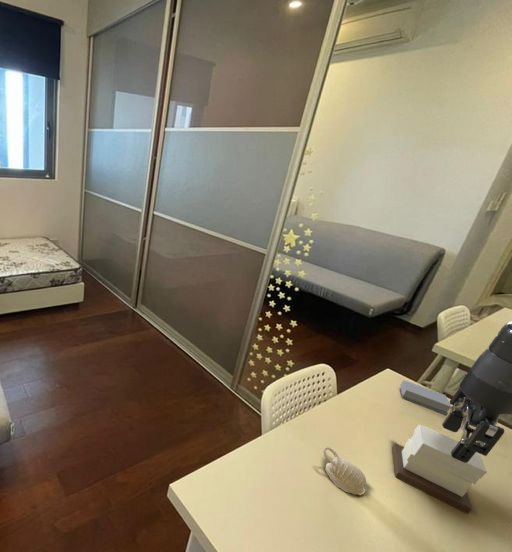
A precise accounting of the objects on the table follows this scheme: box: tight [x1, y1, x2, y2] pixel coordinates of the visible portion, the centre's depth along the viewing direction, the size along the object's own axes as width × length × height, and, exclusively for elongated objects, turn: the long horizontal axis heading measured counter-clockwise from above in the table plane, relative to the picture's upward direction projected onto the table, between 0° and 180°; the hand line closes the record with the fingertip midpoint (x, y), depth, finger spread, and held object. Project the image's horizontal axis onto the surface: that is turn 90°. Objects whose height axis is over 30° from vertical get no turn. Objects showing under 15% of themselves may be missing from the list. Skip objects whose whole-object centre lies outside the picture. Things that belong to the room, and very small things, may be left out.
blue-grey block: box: [399, 379, 452, 417], centre depth 86 cm, size 9×6×4 cm, turn 54°
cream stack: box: [391, 433, 481, 514], centre depth 65 cm, size 11×9×8 cm
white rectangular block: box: [413, 424, 488, 480], centre depth 63 cm, size 9×6×2 cm, turn 54°
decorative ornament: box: [322, 446, 367, 496], centre depth 63 cm, size 4×8×5 cm, turn 37°
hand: (453, 443), depth 62 cm, fingers open, 8 cm apart
